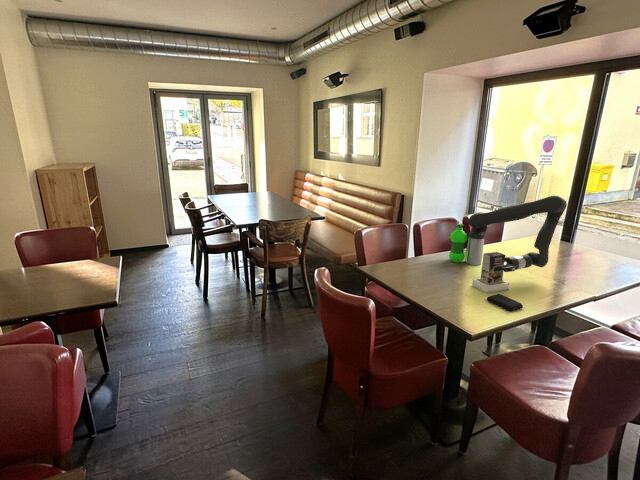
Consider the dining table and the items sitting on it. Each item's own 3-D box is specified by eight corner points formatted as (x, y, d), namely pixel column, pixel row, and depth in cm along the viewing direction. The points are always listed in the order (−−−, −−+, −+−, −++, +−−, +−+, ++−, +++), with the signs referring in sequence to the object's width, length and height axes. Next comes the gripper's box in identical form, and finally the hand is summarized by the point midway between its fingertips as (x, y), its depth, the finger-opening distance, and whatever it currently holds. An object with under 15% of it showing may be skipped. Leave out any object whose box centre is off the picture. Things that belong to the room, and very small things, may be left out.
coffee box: (488, 285, 185) (491, 256, 180) (479, 281, 191) (482, 253, 186) (502, 283, 187) (506, 254, 183) (493, 279, 193) (497, 251, 189)
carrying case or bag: (526, 309, 166) (499, 297, 179) (527, 303, 165) (500, 291, 178) (510, 313, 162) (484, 301, 175) (511, 307, 161) (485, 295, 174)
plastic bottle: (467, 263, 228) (471, 226, 221) (450, 263, 228) (454, 226, 222) (461, 258, 238) (465, 222, 231) (445, 258, 238) (449, 222, 231)
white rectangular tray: (472, 285, 193) (472, 279, 192) (492, 282, 197) (493, 275, 196) (487, 293, 183) (488, 286, 181) (508, 290, 187) (509, 283, 186)
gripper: (504, 253, 196) (480, 256, 191) (526, 260, 183) (501, 264, 178) (502, 265, 198) (478, 269, 193) (524, 274, 185) (499, 278, 180)
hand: (489, 267), depth 186 cm, fingers closed on coffee box, 6 cm apart
